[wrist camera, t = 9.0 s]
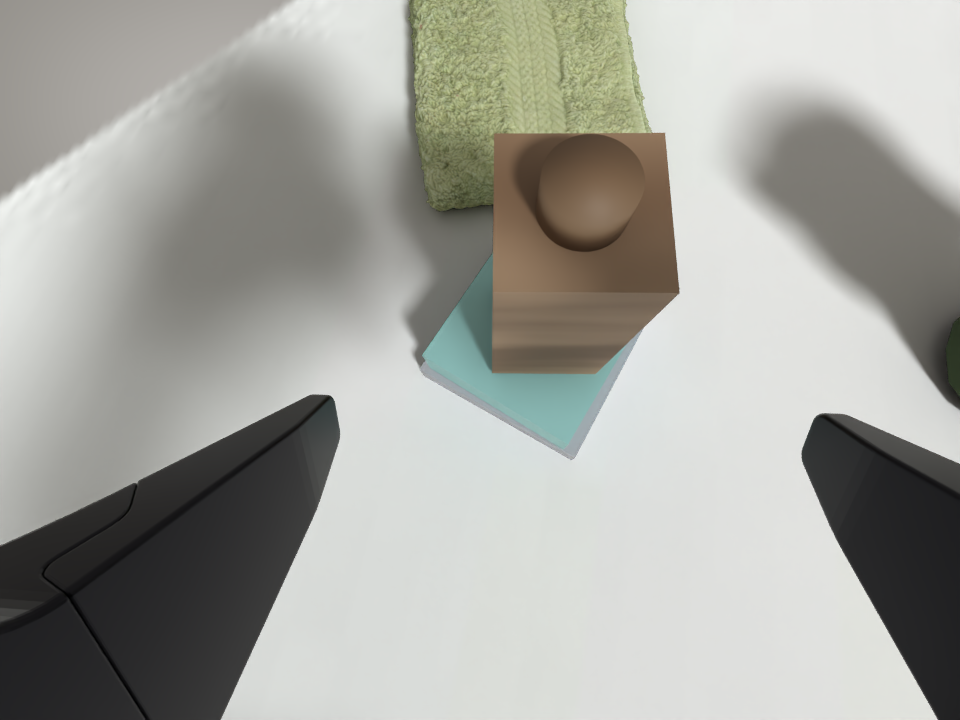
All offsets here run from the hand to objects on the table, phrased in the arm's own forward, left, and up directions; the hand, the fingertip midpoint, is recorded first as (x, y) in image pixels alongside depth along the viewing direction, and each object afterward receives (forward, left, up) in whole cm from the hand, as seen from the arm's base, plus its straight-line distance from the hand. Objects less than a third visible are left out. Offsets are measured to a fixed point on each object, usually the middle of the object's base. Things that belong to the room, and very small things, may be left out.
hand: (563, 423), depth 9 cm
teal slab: (+5, +3, -12) cm, 13 cm away
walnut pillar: (+5, +2, -10) cm, 11 cm away
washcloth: (+19, +11, -14) cm, 26 cm away
